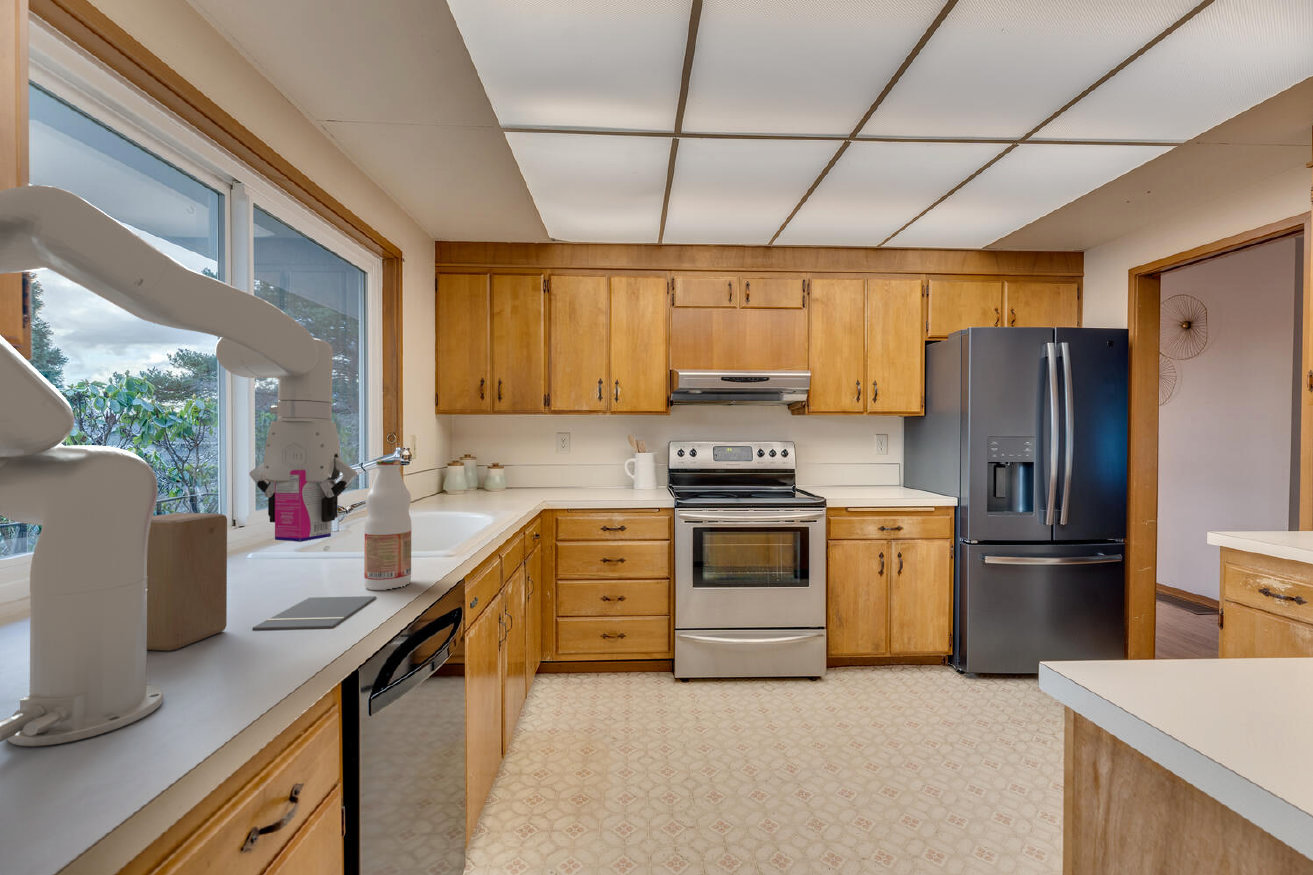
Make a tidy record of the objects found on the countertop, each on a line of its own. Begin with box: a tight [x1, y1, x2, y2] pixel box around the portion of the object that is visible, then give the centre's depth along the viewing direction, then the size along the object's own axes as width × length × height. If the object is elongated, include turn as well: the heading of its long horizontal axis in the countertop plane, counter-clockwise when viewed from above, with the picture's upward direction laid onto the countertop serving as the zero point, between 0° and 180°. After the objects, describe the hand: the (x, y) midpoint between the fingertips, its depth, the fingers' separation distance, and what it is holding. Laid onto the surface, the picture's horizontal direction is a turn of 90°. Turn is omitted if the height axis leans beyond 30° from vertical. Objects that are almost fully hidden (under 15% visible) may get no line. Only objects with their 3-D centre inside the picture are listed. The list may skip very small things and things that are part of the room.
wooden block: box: [147, 512, 228, 652], centre depth 89 cm, size 10×10×20 cm
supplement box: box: [274, 470, 332, 543], centre depth 91 cm, size 6×6×12 cm
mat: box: [252, 595, 377, 631], centre depth 104 cm, size 18×13×1 cm
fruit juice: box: [363, 459, 413, 591], centre depth 123 cm, size 9×9×28 cm
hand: (303, 520), depth 91 cm, fingers closed on supplement box, 7 cm apart
